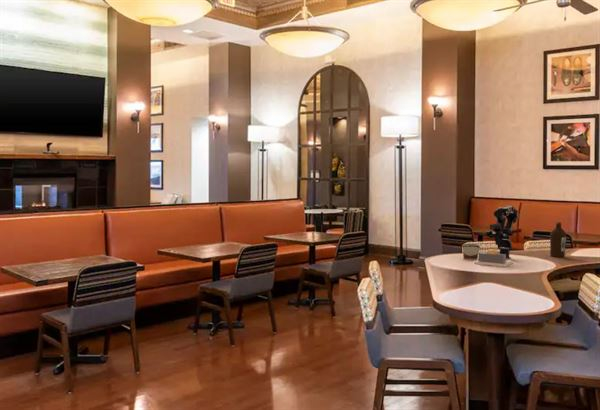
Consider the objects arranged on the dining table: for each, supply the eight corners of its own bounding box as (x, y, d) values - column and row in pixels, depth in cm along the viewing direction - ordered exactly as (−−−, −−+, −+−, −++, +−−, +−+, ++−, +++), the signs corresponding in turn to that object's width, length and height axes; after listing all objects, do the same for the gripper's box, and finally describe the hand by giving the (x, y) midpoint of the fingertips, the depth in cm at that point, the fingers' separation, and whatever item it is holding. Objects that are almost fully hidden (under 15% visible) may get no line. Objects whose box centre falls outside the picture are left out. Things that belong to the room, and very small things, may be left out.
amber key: (489, 253, 372) (489, 249, 372) (496, 254, 369) (496, 249, 369) (487, 254, 368) (487, 250, 368) (494, 255, 366) (495, 250, 365)
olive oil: (546, 256, 407) (548, 222, 405) (552, 255, 414) (554, 221, 413) (561, 258, 399) (563, 223, 398) (567, 256, 407) (569, 222, 405)
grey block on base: (482, 260, 386) (482, 249, 386) (512, 262, 375) (513, 252, 375) (474, 263, 371) (474, 253, 370) (505, 266, 360) (506, 255, 359)
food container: (477, 257, 396) (478, 243, 395) (479, 259, 390) (480, 245, 389) (459, 257, 397) (460, 243, 397) (461, 258, 391) (461, 244, 390)
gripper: (482, 220, 389) (477, 240, 383) (505, 217, 374) (501, 238, 368) (492, 227, 394) (487, 247, 388) (515, 224, 379) (511, 245, 373)
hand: (496, 244), depth 379 cm, fingers closed
